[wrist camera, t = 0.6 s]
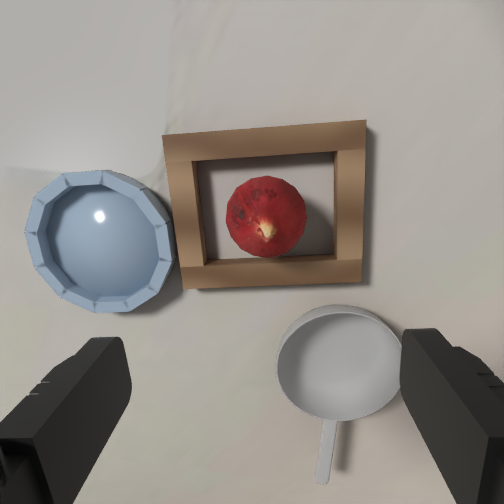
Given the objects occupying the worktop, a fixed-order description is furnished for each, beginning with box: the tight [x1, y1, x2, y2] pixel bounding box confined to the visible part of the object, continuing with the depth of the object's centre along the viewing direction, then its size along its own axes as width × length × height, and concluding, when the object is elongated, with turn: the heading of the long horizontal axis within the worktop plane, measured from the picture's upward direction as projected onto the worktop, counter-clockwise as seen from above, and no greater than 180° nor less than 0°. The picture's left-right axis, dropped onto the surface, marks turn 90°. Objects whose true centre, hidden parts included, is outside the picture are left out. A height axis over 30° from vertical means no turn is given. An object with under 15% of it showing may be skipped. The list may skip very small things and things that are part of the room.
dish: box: [24, 170, 177, 313], centre depth 28 cm, size 12×12×2 cm
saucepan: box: [276, 305, 402, 485], centre depth 31 cm, size 11×18×4 cm, turn 176°
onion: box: [226, 176, 307, 258], centre depth 24 cm, size 6×6×8 cm
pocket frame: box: [162, 120, 366, 289], centre depth 27 cm, size 12×15×2 cm
